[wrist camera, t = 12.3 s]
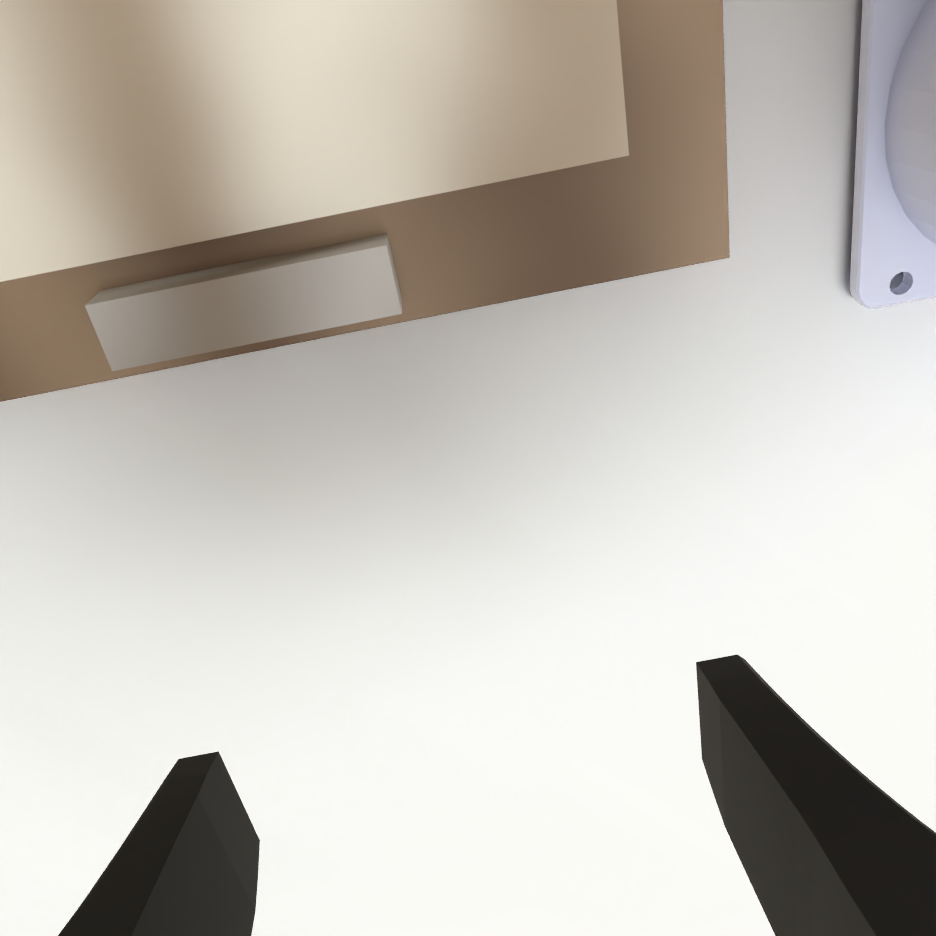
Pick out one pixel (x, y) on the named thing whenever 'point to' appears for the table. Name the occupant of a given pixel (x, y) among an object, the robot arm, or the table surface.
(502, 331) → the table surface
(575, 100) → the clipboard
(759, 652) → the table surface
